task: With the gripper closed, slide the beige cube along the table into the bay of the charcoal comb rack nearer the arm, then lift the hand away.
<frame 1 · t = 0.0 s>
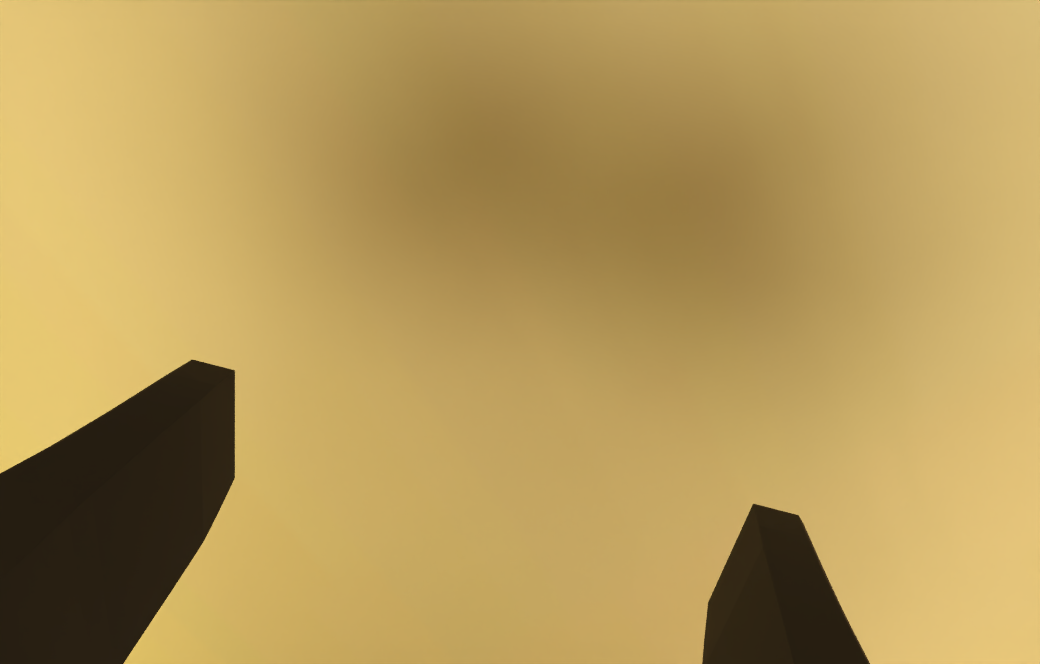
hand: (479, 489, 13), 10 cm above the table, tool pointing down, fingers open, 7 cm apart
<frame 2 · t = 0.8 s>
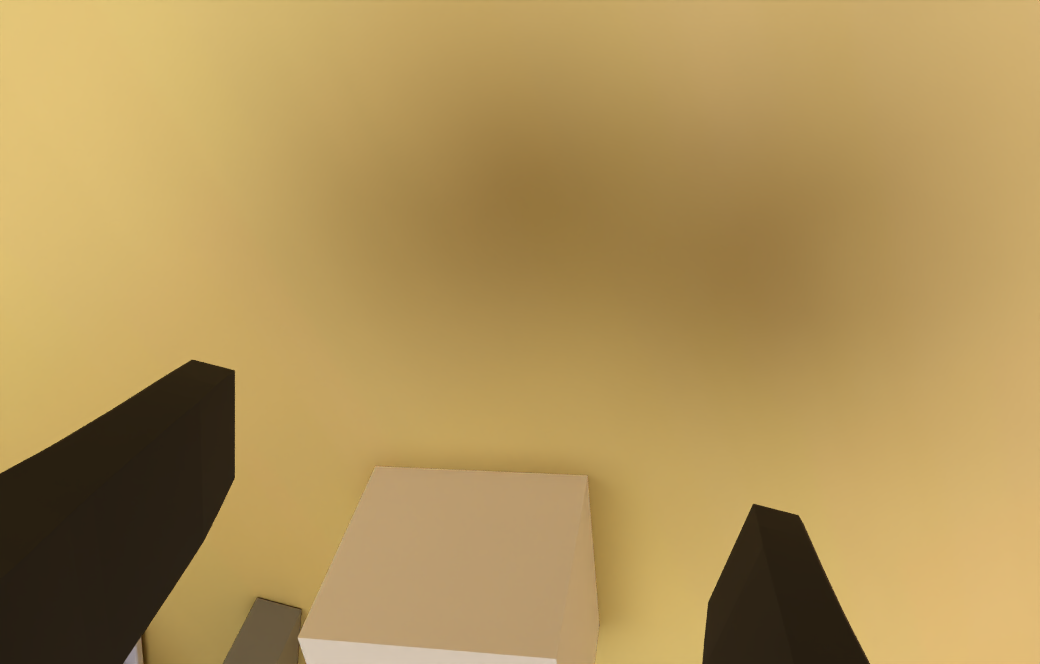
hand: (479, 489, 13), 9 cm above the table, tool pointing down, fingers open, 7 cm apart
beige cube: (493, 541, 27), on the table
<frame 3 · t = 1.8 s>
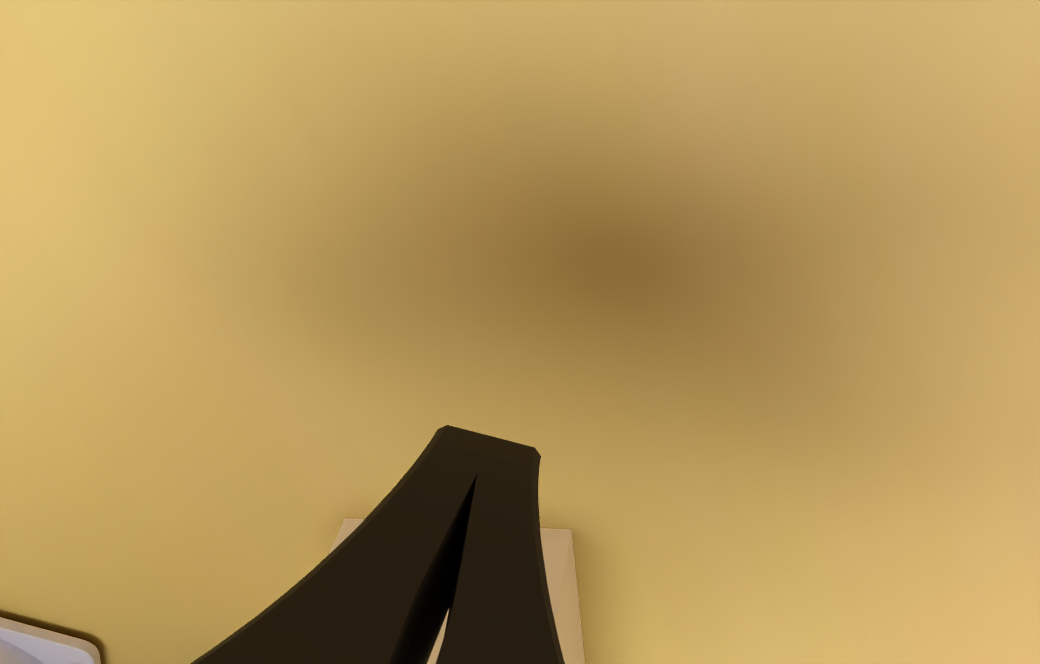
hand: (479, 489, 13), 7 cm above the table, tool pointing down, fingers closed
beige cube: (473, 595, 26), on the table
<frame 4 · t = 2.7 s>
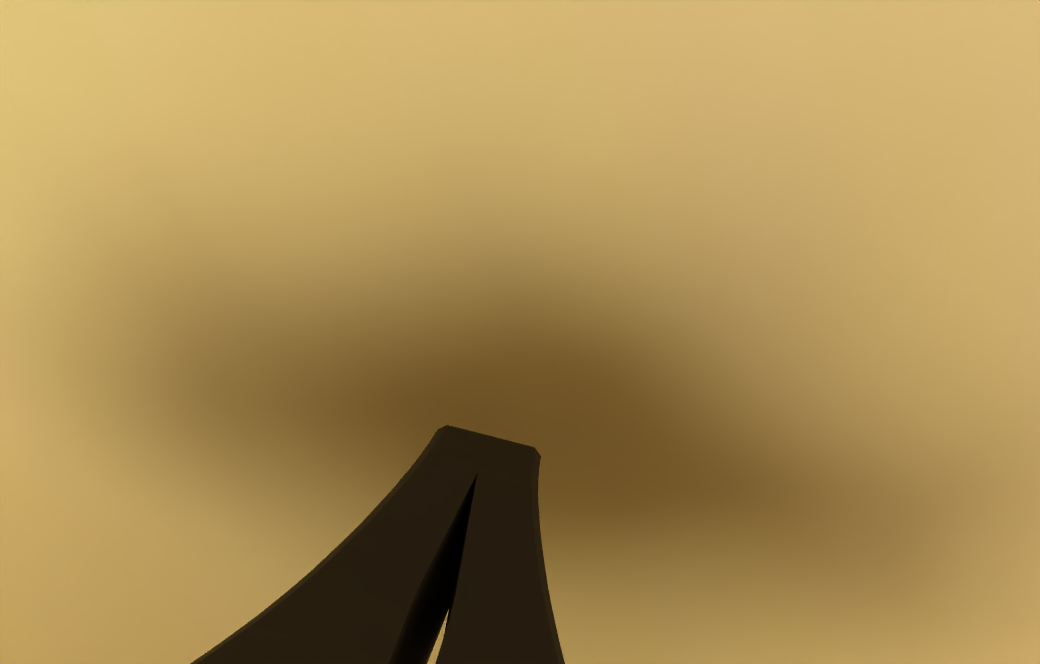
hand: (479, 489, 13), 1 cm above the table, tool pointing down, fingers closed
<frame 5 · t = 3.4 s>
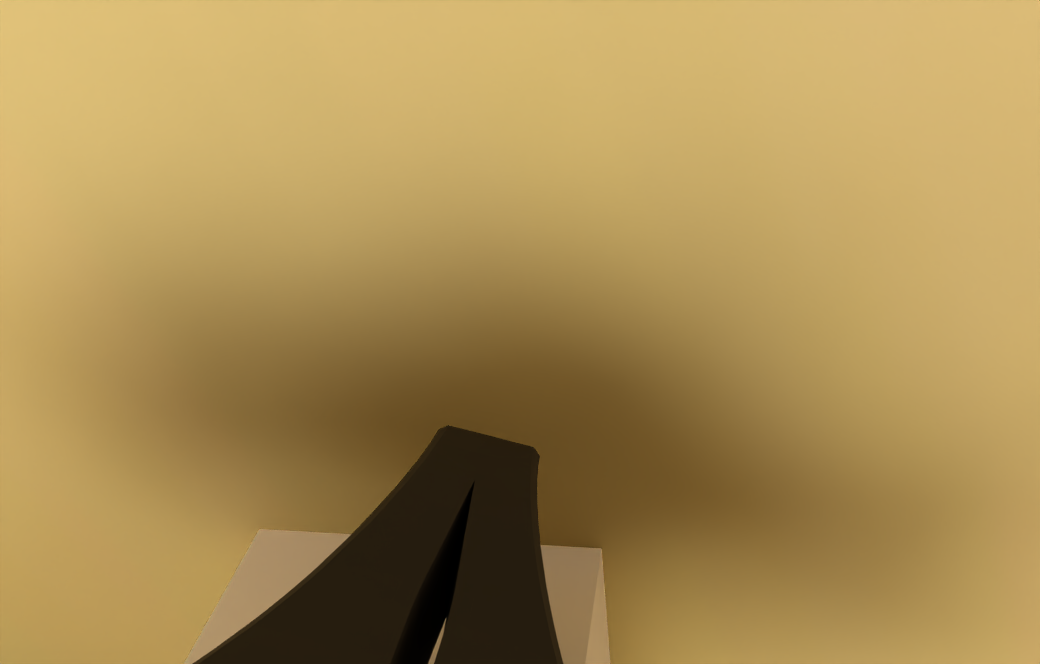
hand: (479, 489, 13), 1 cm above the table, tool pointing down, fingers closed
beige cube: (452, 642, 18), on the table, touching gripper
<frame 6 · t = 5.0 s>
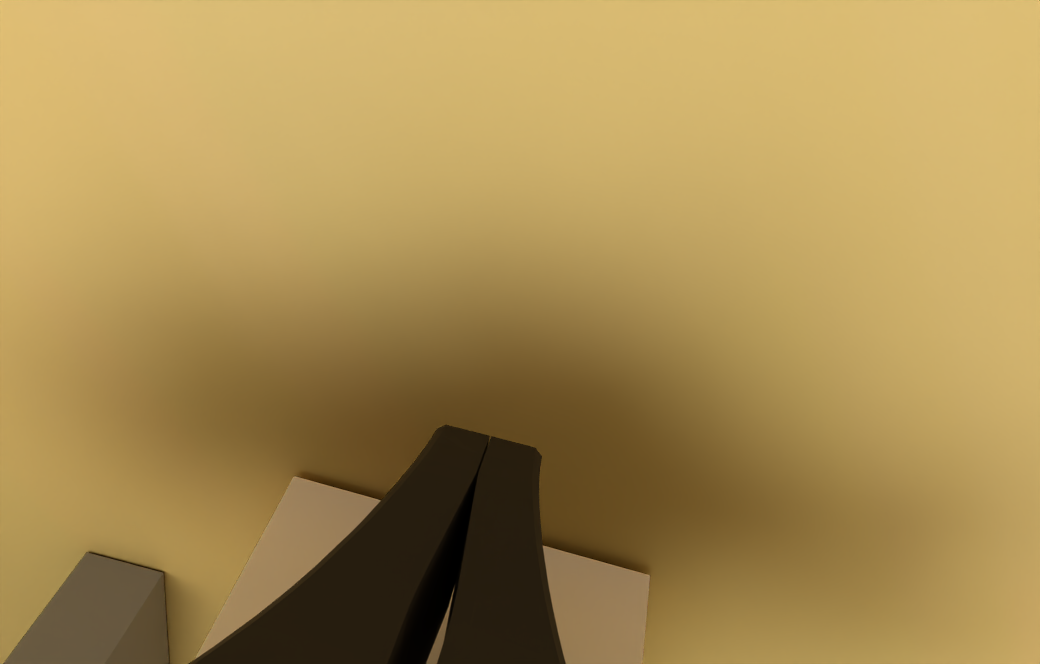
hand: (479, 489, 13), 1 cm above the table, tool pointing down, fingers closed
beige cube: (446, 625, 17), on the table, touching gripper
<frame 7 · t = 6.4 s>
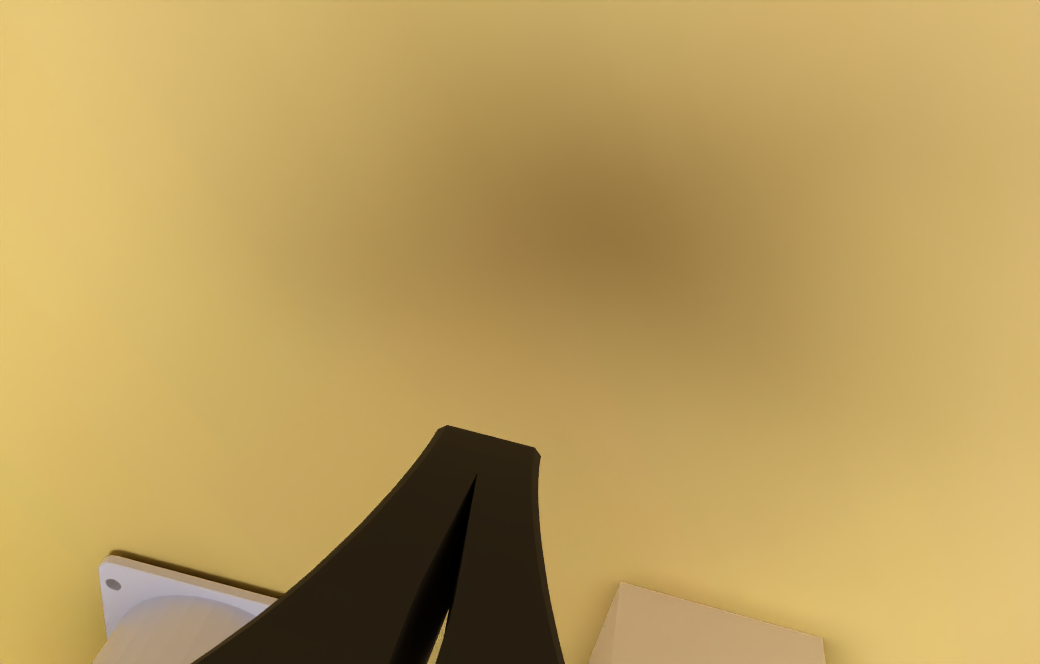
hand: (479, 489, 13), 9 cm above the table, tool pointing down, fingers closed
beige cube: (690, 663, 29), on the table
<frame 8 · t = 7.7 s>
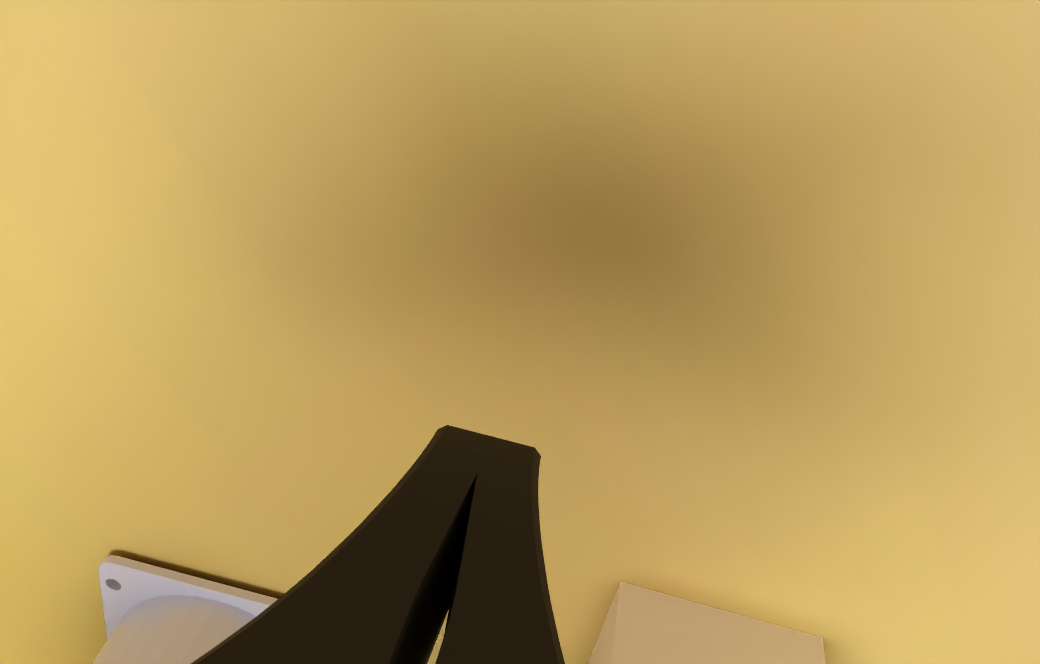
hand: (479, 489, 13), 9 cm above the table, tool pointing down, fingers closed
beige cube: (690, 663, 29), on the table
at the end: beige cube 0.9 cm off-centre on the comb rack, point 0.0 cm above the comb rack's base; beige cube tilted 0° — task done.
